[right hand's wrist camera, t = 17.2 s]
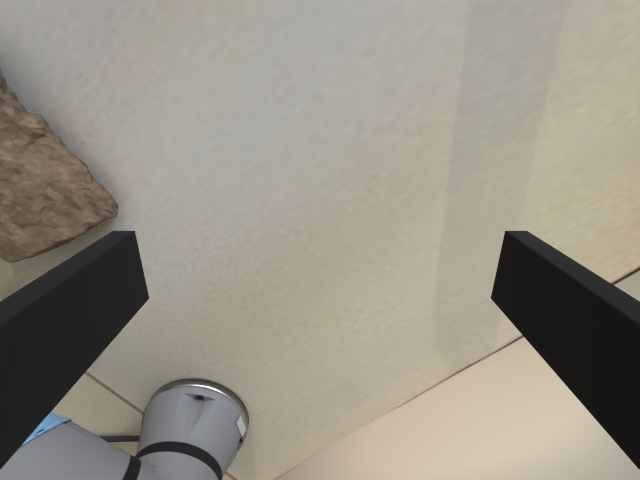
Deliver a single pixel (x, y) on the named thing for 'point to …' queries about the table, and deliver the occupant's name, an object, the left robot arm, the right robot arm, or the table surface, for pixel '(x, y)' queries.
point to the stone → (42, 186)
